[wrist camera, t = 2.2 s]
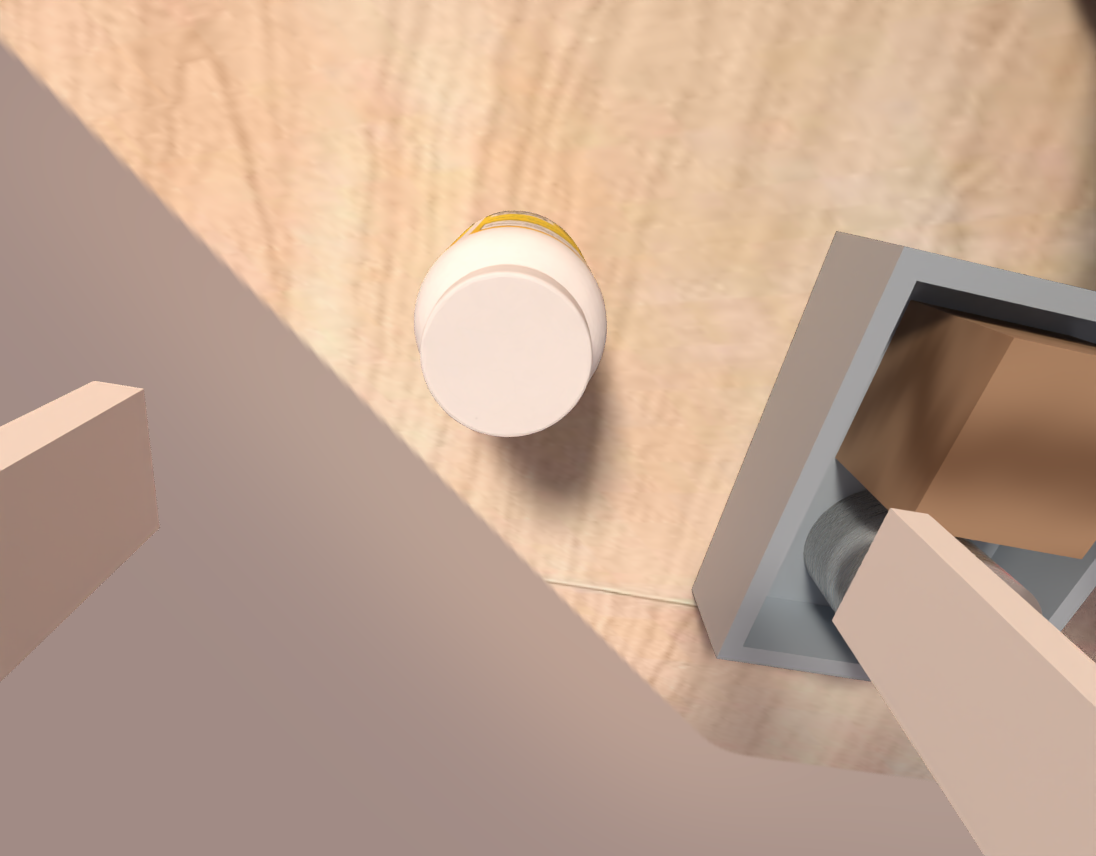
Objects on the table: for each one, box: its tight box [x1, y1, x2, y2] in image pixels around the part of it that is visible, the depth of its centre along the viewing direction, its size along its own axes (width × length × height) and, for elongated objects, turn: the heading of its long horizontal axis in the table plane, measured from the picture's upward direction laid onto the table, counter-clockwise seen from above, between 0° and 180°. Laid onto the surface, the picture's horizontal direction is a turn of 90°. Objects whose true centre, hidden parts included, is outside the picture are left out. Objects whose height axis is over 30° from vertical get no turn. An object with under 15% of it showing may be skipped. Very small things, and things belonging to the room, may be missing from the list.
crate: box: [692, 231, 1096, 681], centre depth 27 cm, size 20×16×5 cm
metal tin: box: [803, 490, 1043, 616], centre depth 27 cm, size 7×7×7 cm
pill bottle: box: [414, 211, 607, 437], centre depth 20 cm, size 6×6×11 cm
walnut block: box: [835, 300, 1096, 559], centre depth 24 cm, size 8×8×6 cm
